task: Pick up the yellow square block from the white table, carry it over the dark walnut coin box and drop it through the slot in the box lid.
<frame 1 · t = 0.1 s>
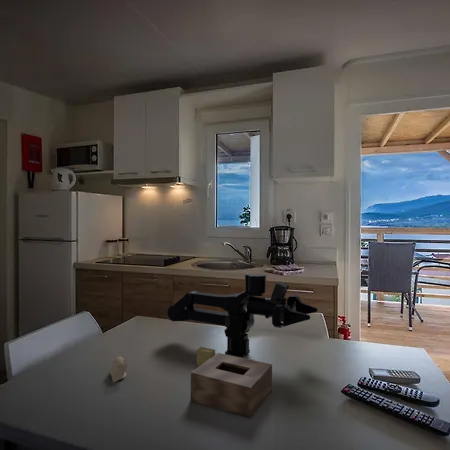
hand: (313, 313, 101), 17 cm above the table, tool horizontal, fingers open, 9 cm apart
walnut coin box: (232, 395, 85), on the table
decorative ornament: (118, 377, 95), on the table
yellow square block: (205, 366, 103), on the table
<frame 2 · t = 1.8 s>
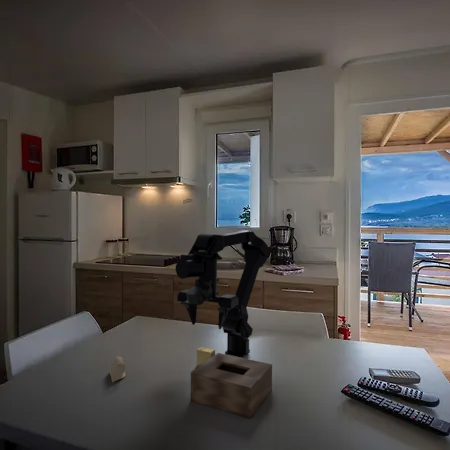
hand: (206, 326, 102), 12 cm above the table, tool pointing down, fingers open, 9 cm apart
nothing on the table moved.
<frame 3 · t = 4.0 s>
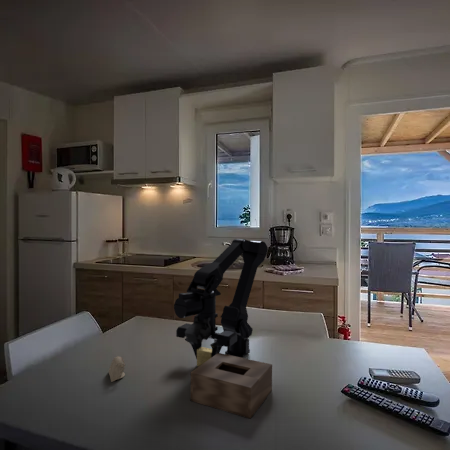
hand: (205, 362, 102), 1 cm above the table, tool pointing down, fingers closed on yellow square block, 5 cm apart
yellow square block: (205, 365, 102), on the table, touching gripper
everything else where it was.
when the fingers open (9 cm above the table, at t = 8.8 s): yellow square block drops 8 cm, resting on walnut coin box.
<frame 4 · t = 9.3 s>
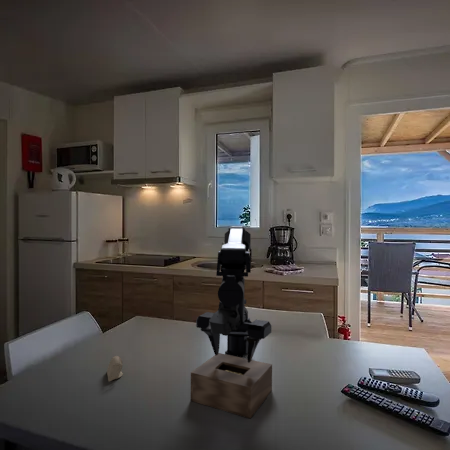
hand: (232, 358, 85), 9 cm above the table, tool pointing down, fingers open, 9 cm apart
yellow square block: (232, 393, 85), point 1 cm above the table, touching walnut coin box
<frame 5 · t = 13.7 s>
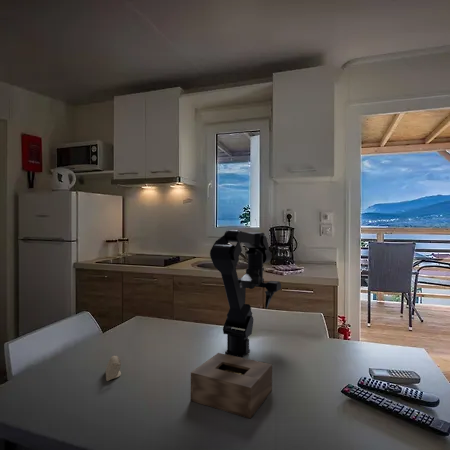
hand: (254, 307, 126), 12 cm above the table, tool pointing down, fingers open, 9 cm apart
at the end: yellow square block inside the target area on the walnut coin box (0.0 cm from its centre), point 0.6 cm above the walnut coin box's base; the gripper is holding nothing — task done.
